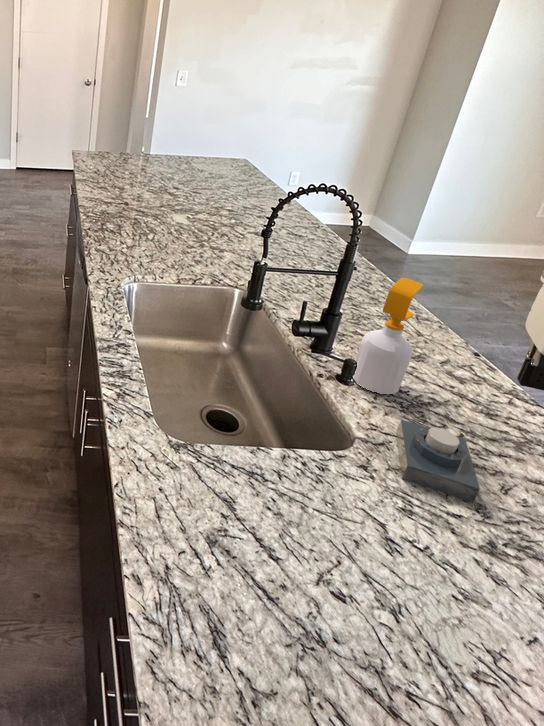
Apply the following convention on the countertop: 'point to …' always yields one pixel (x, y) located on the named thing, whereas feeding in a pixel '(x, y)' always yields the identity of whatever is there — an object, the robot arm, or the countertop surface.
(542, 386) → the robot arm
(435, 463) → the push button base
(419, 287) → the soap bottle
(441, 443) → the flush button
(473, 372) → the countertop surface
